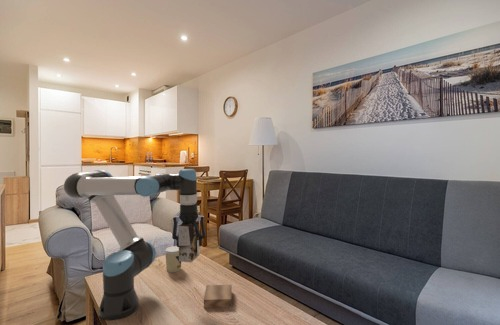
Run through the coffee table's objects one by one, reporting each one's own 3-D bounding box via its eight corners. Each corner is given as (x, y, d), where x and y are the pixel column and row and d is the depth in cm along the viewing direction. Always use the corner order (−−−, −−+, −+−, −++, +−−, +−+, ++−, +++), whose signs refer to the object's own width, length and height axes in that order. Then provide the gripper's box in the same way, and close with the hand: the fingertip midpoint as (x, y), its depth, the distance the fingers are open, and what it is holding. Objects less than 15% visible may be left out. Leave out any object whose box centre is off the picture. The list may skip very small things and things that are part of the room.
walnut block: (203, 308, 114) (203, 299, 113) (206, 293, 126) (206, 285, 125) (231, 307, 114) (231, 299, 114) (231, 292, 126) (231, 284, 126)
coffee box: (192, 262, 114) (191, 226, 113) (178, 261, 115) (177, 225, 114) (200, 254, 122) (199, 220, 122) (187, 253, 124) (186, 219, 123)
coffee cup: (179, 273, 144) (179, 252, 144) (162, 273, 144) (162, 251, 144) (184, 265, 154) (184, 245, 153) (168, 265, 154) (168, 245, 153)
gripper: (163, 205, 113) (164, 257, 114) (210, 204, 114) (211, 256, 115) (167, 202, 121) (169, 250, 122) (211, 201, 122) (212, 249, 123)
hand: (189, 253), depth 119 cm, fingers closed on coffee box, 7 cm apart
